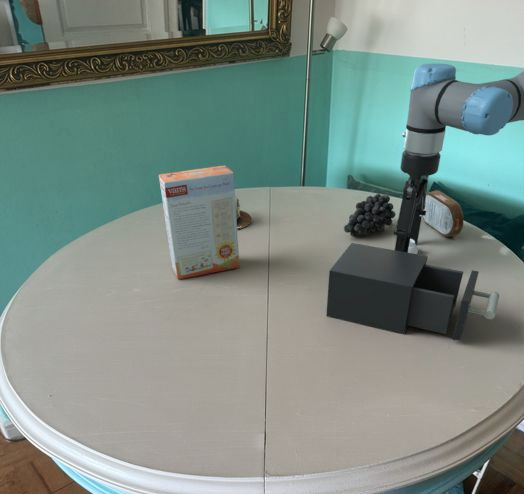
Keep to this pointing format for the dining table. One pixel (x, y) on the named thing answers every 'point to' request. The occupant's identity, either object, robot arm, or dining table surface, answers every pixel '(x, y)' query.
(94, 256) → the dining table surface
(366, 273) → the drawer cabinet casing
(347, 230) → the fruit
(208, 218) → the cracker box
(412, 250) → the white jar
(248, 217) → the skull
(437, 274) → the grey drawer
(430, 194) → the tin
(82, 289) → the dining table surface
